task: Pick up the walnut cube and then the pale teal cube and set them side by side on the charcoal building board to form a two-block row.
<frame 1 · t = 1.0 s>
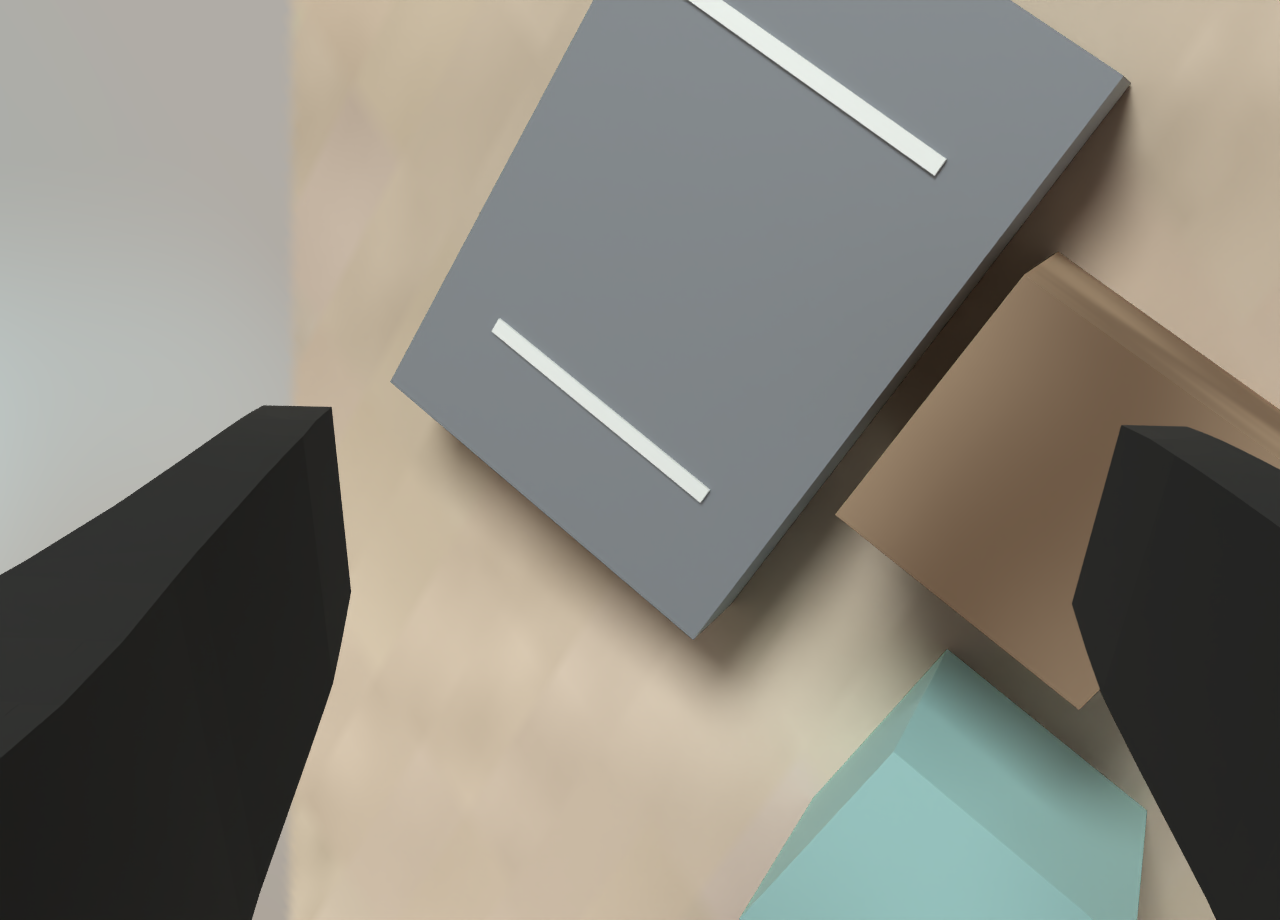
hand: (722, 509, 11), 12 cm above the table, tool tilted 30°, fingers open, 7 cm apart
walnut cube: (1080, 433, 21), on the table
board: (737, 246, 23), on the table
teal cube: (970, 802, 23), on the table
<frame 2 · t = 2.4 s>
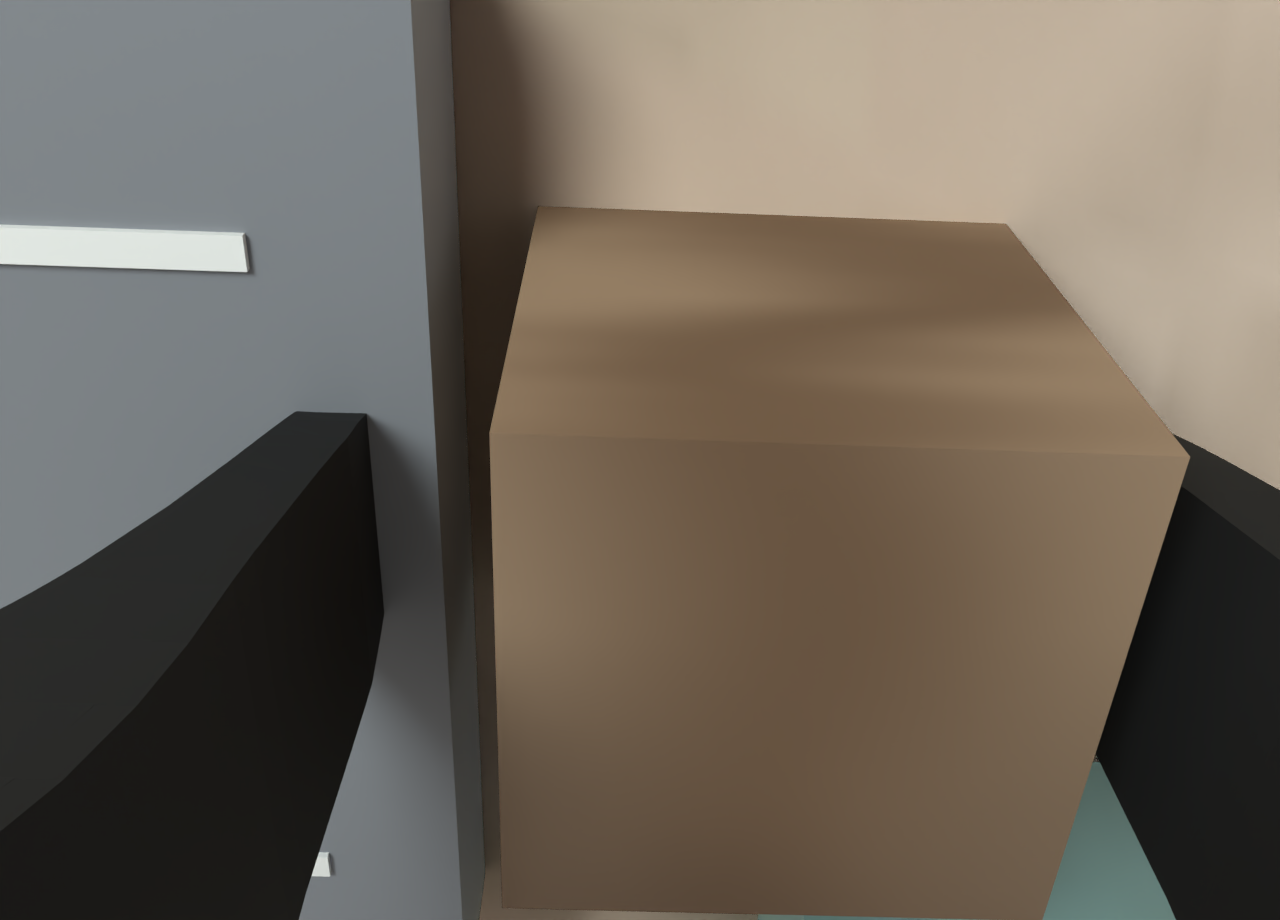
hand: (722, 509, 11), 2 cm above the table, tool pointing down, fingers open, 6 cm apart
walnut cube: (751, 417, 13), on the table
board: (97, 484, 13), on the table
teal cube: (927, 875, 16), on the table
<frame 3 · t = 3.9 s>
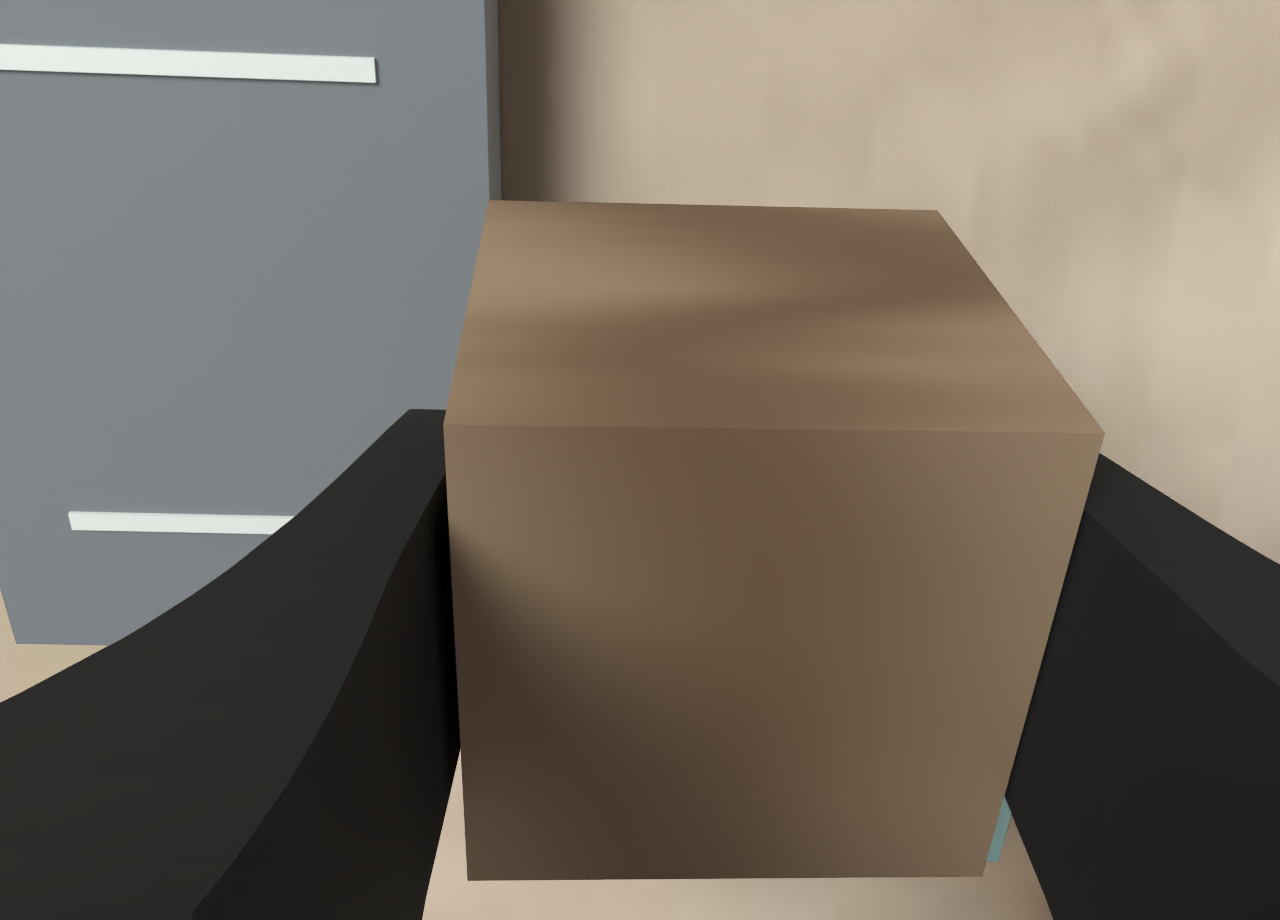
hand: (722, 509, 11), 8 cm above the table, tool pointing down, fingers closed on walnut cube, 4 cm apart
walnut cube: (700, 403, 13), point 6 cm above the table, touching gripper
board: (245, 264, 19), on the table
teal cube: (834, 583, 22), on the table
when the fingers open (5 cm above the table, at t = 5.4 s): walnut cube stays where it is, resting on board.
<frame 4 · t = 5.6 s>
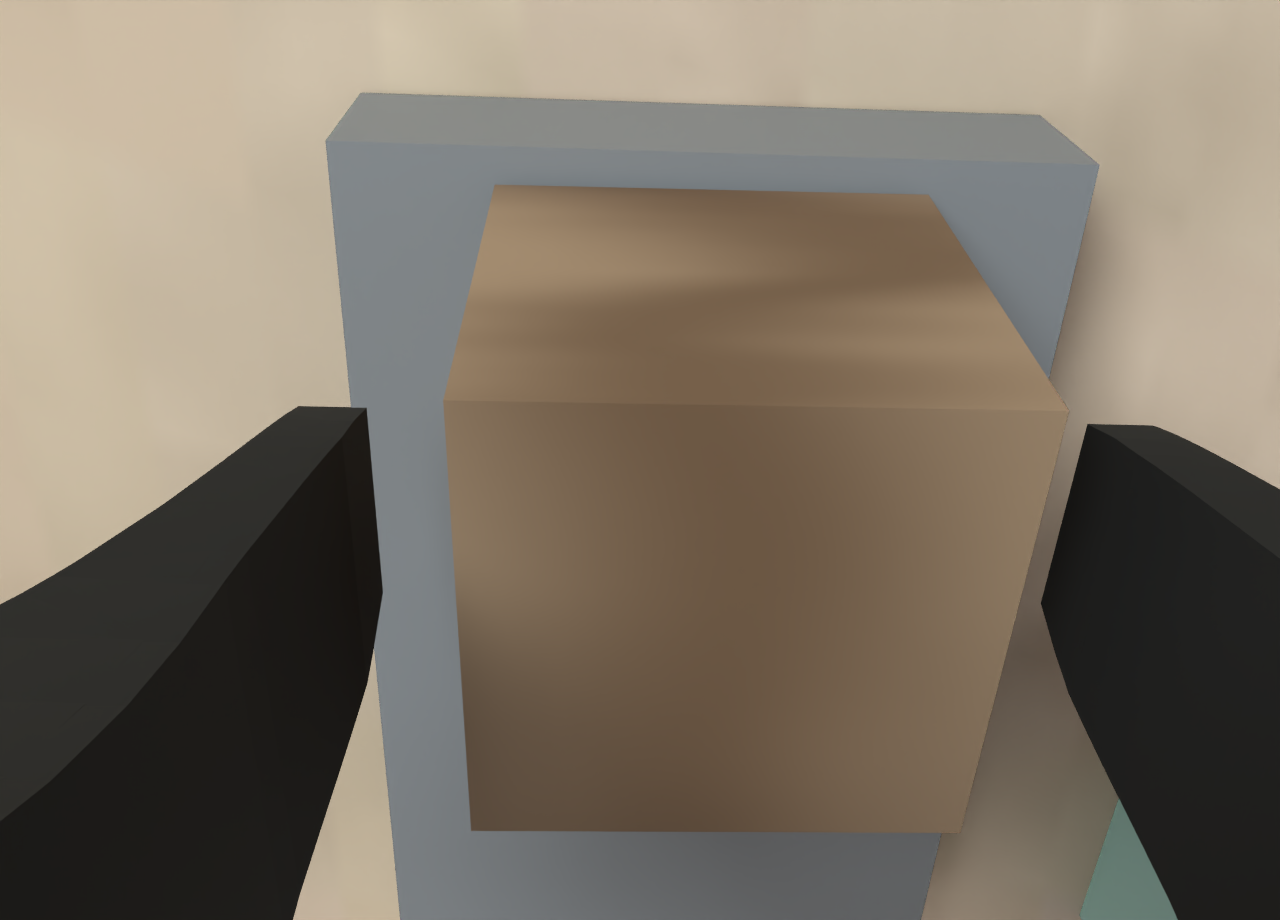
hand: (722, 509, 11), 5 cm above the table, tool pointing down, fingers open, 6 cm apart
walnut cube: (700, 381, 14), point 2 cm above the table, touching board
board: (676, 528, 17), on the table
teal cube: (1235, 824, 21), on the table
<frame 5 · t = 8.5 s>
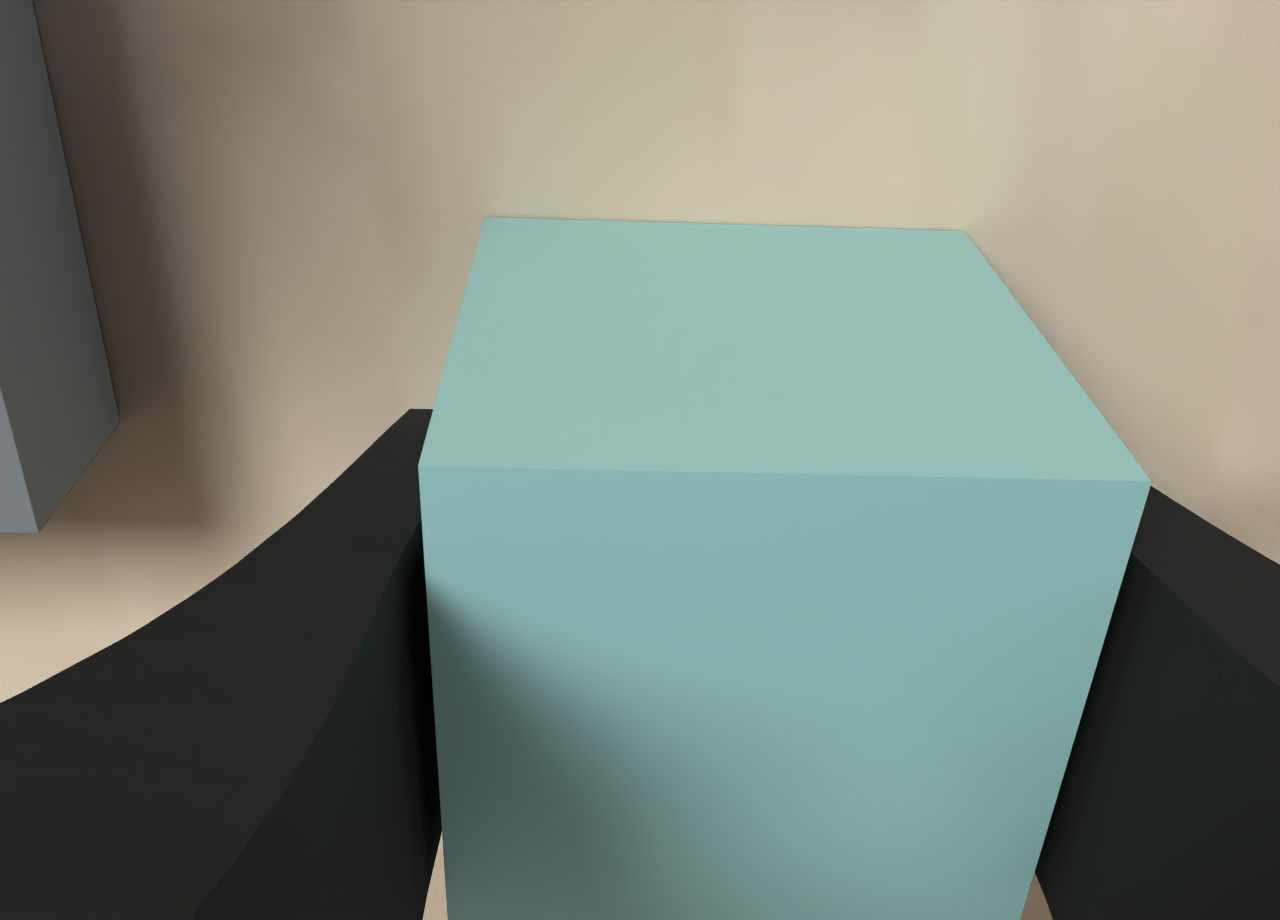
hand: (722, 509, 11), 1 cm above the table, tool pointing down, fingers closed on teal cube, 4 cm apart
teal cube: (710, 434, 12), on the table, touching gripper
when the fingers open (5 cm above the table, at t = 11.0 s): teal cube drops 1 cm, resting on board.
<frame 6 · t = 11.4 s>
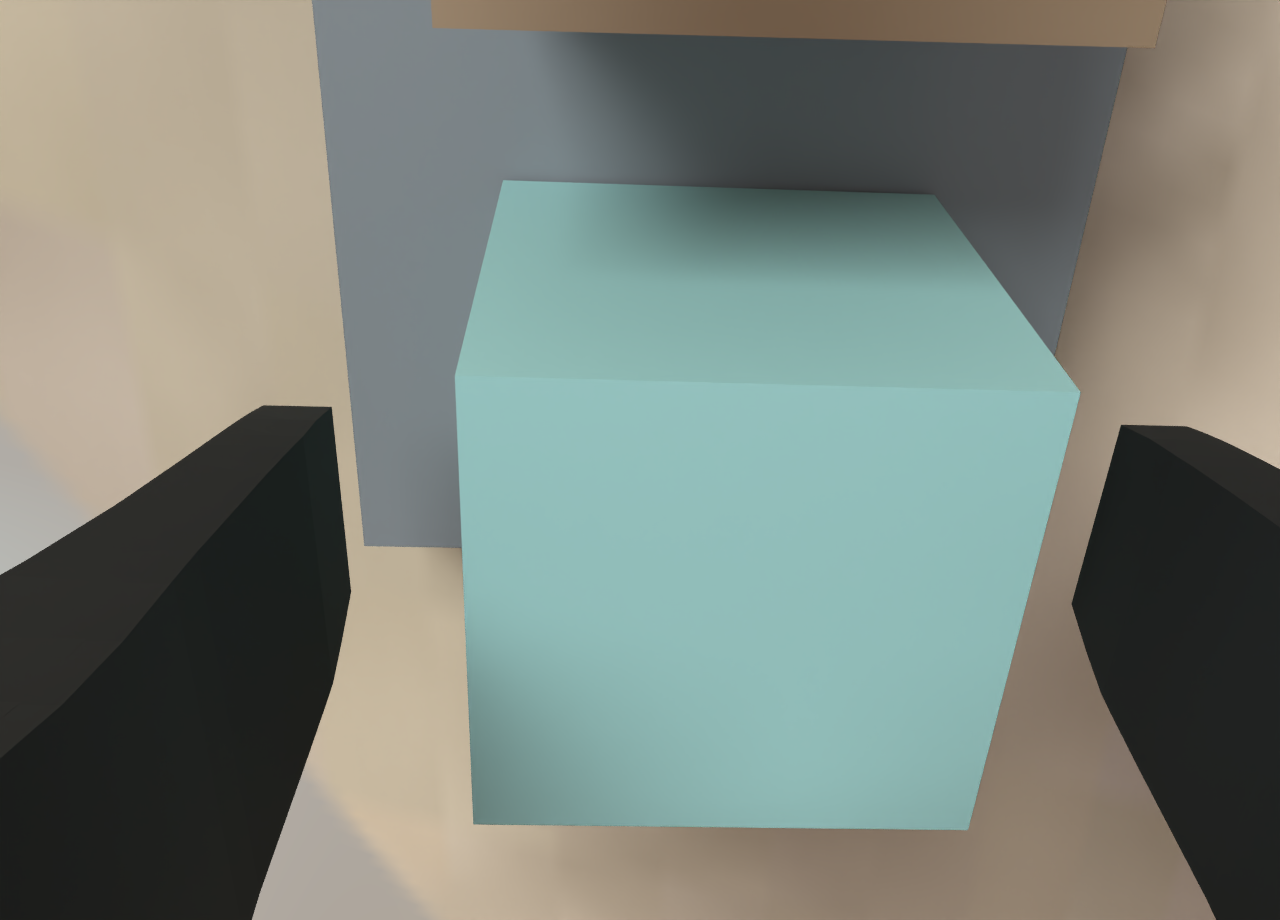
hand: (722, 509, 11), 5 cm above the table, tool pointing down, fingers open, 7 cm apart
board: (709, 14, 14), on the table
teal cube: (705, 380, 14), point 2 cm above the table, touching board
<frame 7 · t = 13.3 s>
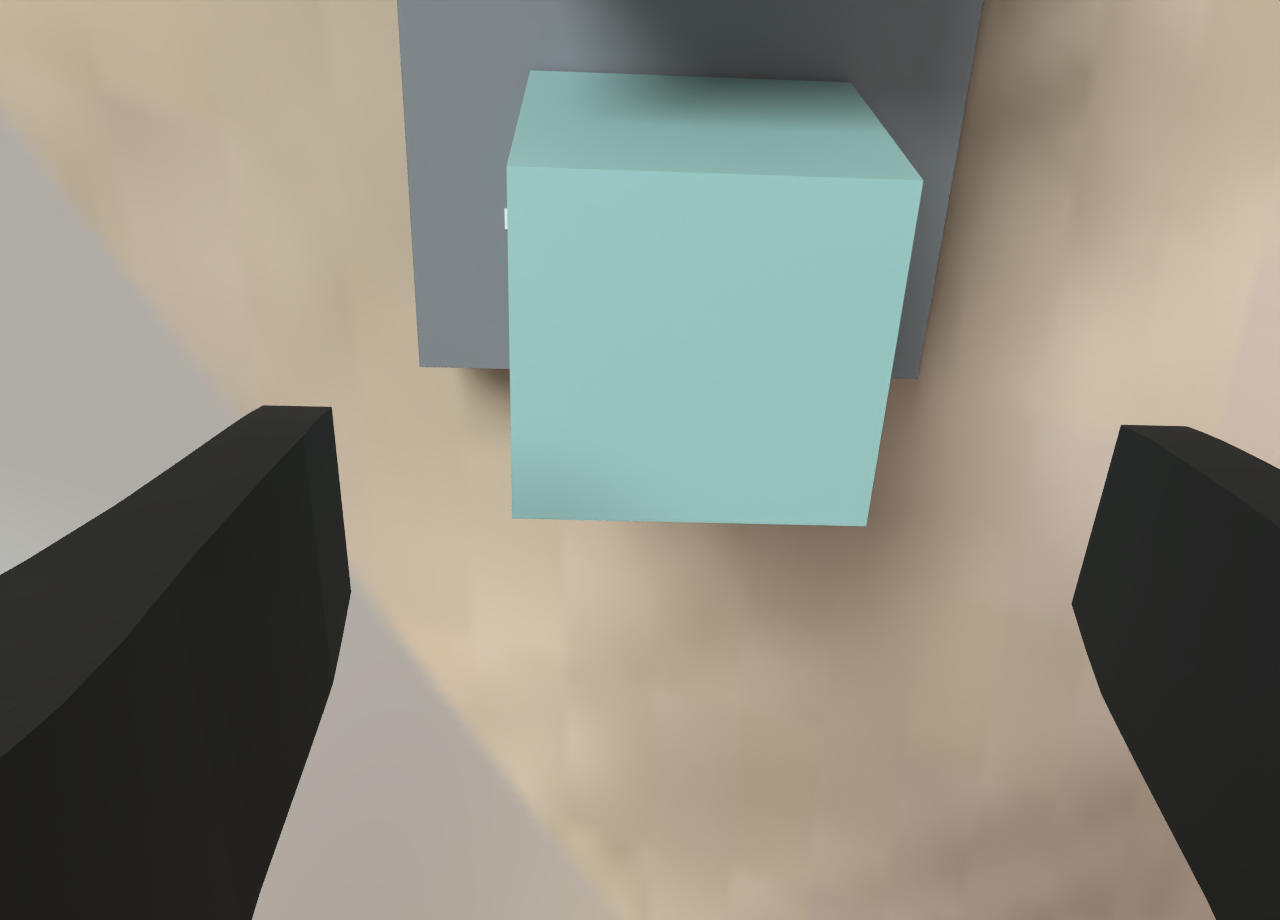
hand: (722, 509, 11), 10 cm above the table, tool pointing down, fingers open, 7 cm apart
teal cube: (681, 230, 18), point 2 cm above the table, touching board
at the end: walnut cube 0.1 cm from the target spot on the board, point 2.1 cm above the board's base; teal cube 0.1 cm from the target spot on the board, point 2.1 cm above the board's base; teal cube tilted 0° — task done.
